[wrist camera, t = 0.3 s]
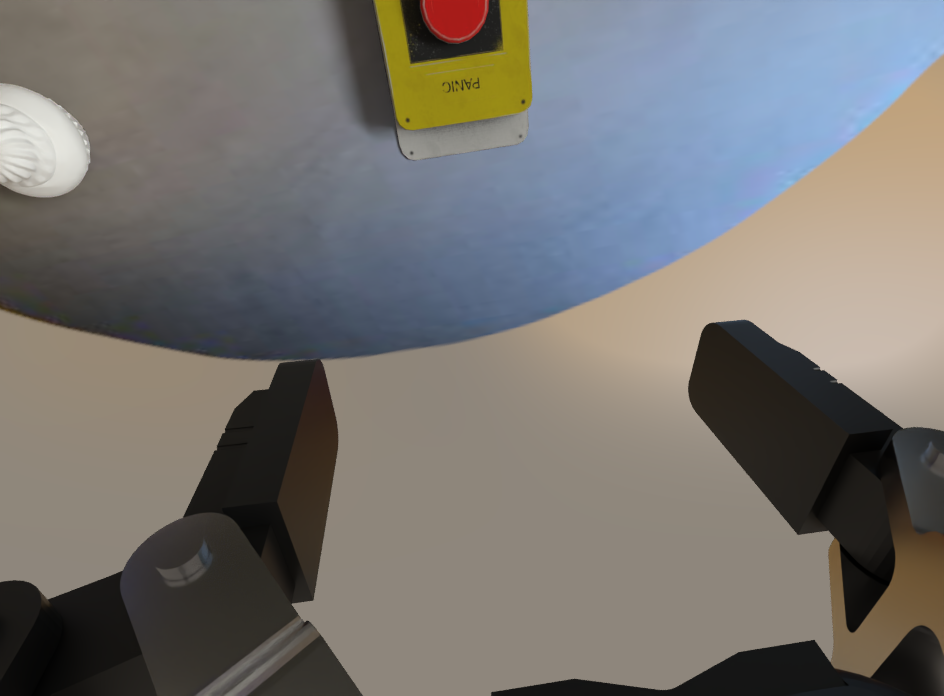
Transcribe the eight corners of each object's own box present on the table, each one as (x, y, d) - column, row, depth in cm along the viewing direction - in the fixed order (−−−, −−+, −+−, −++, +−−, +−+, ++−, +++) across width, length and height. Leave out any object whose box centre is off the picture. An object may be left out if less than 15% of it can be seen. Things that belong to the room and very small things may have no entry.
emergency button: (529, -172, 23) (542, 150, 31) (511, -140, 27) (527, 141, 35) (341, -149, 23) (403, 172, 31) (349, -119, 27) (402, 161, 35)
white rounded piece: (7, 166, 31) (-86, 190, 25) (-2, 64, 28) (-108, 64, 22) (115, 197, 33) (52, 227, 27) (116, 104, 30) (47, 114, 24)
